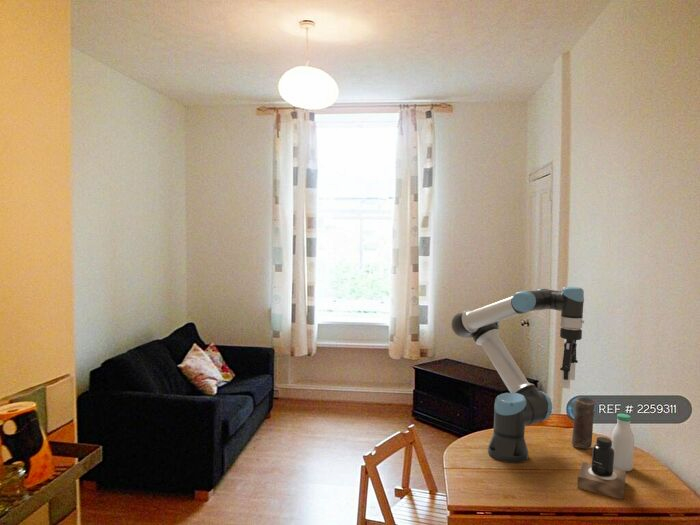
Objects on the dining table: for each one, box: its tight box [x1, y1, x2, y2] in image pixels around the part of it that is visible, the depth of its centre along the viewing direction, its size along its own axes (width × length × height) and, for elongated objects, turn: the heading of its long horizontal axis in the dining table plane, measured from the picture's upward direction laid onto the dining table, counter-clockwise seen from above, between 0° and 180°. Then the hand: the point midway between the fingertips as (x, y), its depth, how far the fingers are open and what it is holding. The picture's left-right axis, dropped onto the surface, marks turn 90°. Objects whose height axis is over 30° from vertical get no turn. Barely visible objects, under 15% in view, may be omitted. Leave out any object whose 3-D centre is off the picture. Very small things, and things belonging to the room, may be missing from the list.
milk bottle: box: [610, 413, 635, 472], centre depth 197 cm, size 8×8×20 cm
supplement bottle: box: [591, 436, 614, 477], centre depth 182 cm, size 7×7×12 cm
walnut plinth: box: [577, 461, 627, 500], centre depth 183 cm, size 14×14×4 cm
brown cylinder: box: [571, 396, 596, 450], centre depth 215 cm, size 8×7×20 cm
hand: (568, 383), depth 198 cm, fingers open, 13 cm apart
